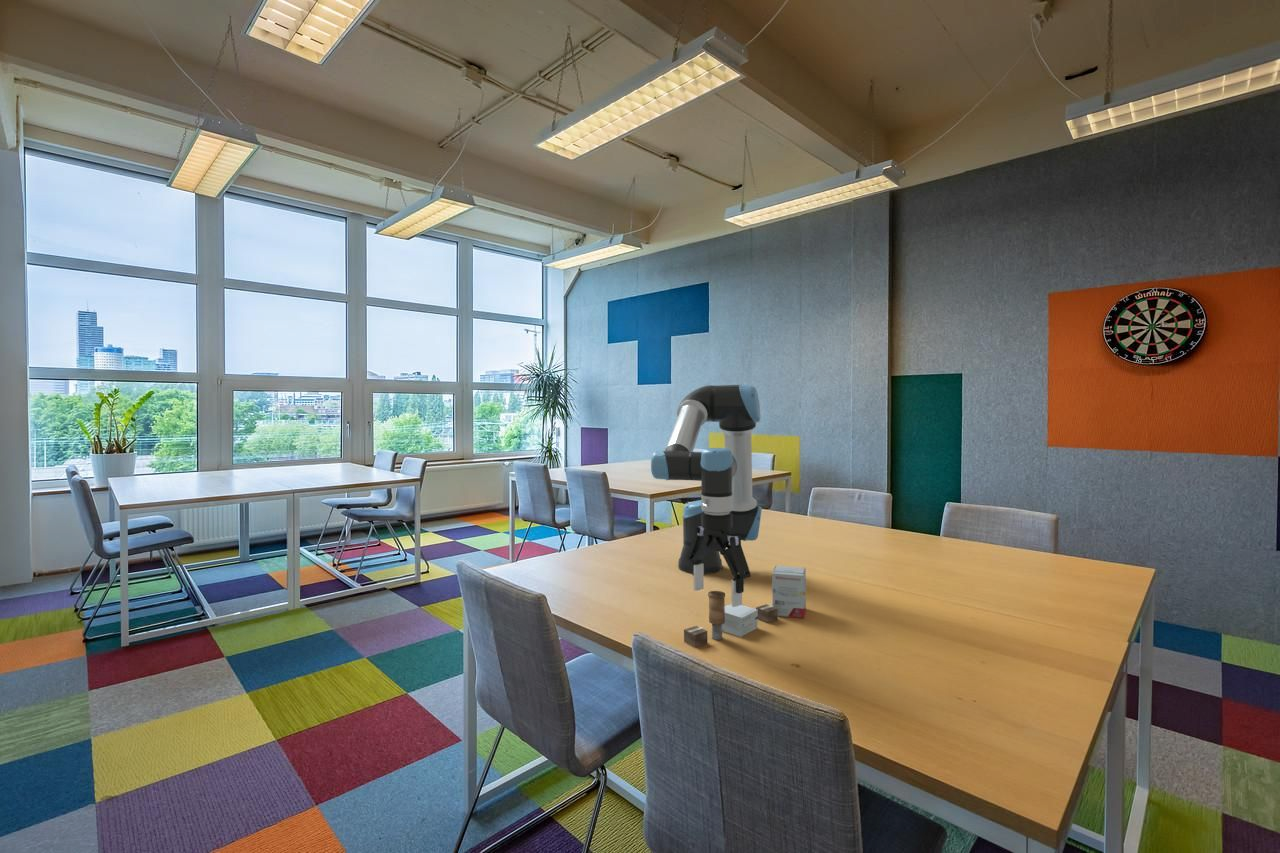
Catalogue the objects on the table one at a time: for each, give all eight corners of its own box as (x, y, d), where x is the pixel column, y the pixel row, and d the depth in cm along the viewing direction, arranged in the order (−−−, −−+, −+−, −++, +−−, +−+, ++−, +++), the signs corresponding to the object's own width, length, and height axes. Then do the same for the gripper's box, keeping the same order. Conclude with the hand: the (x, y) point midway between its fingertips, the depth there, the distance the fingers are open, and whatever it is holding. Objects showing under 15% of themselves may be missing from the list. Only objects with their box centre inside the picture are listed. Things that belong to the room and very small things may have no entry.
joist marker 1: (696, 637, 143) (696, 625, 142) (707, 643, 139) (707, 630, 139) (683, 641, 140) (683, 628, 140) (694, 647, 137) (694, 634, 137)
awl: (717, 633, 145) (717, 589, 145) (729, 638, 142) (728, 593, 142) (705, 637, 143) (704, 593, 143) (716, 642, 139) (716, 597, 139)
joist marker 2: (766, 615, 157) (766, 603, 157) (777, 619, 154) (777, 607, 154) (755, 618, 155) (755, 606, 155) (767, 623, 151) (767, 611, 151)
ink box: (806, 608, 162) (806, 566, 162) (804, 619, 154) (804, 575, 153) (774, 604, 165) (775, 563, 164) (771, 615, 157) (771, 572, 156)
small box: (741, 638, 143) (741, 617, 142) (715, 629, 148) (715, 609, 148) (758, 628, 148) (758, 609, 148) (732, 620, 154) (732, 601, 153)
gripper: (672, 505, 149) (673, 586, 150) (743, 523, 129) (743, 616, 130) (694, 502, 153) (695, 580, 155) (766, 518, 133) (765, 609, 134)
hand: (717, 597), depth 142 cm, fingers open, 13 cm apart
